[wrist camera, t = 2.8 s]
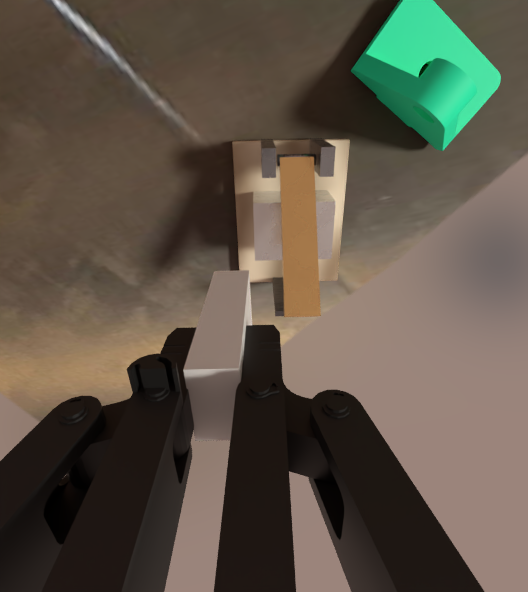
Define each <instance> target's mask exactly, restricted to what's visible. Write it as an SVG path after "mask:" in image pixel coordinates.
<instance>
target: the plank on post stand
mask: <svg viewBox="0 0 528 592" xmlns="http://www.w3.org/2000/svg"><path fill="white" fill-rule="evenodd" d="M335 150H336V147H335V146H333V145H332V144H330V143H328V142H327V141H325V140H324V139H322V138H310V147H309V154H313V153H316V165H314V170H315V172H316V173H317V174H318V175H319V177H334V163H335ZM261 168H262V178H276V147H275V144H274V142H273V139H261ZM315 194H316V218H317V242H318V259H331V257H332V245H333V232H334V219H335V206H336V201H335V200H334V198H333V197H332V196H331V195H330V193H329V192H328V191H327V190H315ZM253 215H254V247H255V261H265V260H282V234H281V201H280V191H257V192H253ZM273 293H274V305H275V316H284V299H283V277H273Z"/></svg>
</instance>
